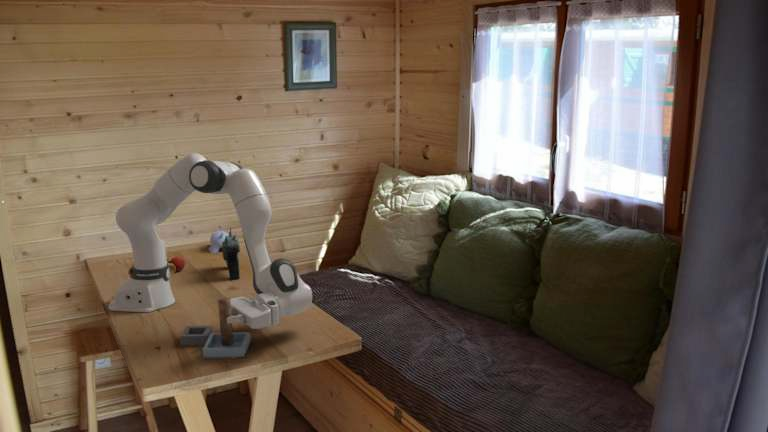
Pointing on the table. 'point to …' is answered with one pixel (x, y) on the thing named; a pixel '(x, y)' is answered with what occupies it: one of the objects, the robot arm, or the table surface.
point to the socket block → (195, 335)
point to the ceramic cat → (231, 255)
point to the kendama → (175, 264)
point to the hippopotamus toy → (217, 240)
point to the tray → (217, 350)
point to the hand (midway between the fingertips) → (222, 318)
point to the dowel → (225, 328)
